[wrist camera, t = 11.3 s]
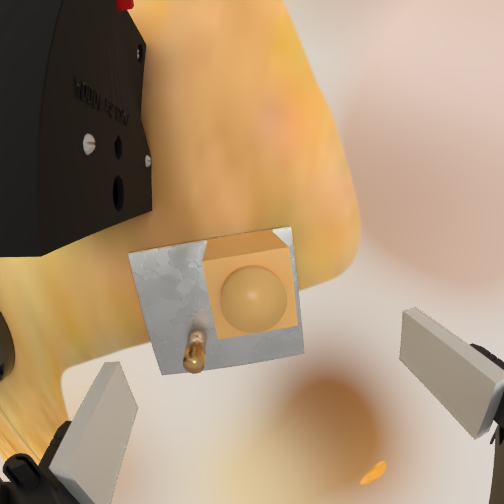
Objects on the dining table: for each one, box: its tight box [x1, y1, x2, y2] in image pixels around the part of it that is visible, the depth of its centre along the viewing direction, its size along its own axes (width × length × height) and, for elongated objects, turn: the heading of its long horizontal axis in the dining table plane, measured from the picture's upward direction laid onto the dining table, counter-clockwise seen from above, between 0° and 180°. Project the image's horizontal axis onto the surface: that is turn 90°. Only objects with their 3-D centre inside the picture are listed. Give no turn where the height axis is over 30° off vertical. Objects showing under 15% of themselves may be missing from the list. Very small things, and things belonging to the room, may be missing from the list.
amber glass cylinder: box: [183, 331, 207, 373], centre depth 29 cm, size 2×2×5 cm
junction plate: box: [128, 226, 304, 375], centre depth 31 cm, size 16×14×1 cm
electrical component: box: [0, 0, 152, 257], centre depth 17 cm, size 18×10×20 cm, turn 0°
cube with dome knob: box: [202, 230, 298, 339], centre depth 25 cm, size 6×6×10 cm
